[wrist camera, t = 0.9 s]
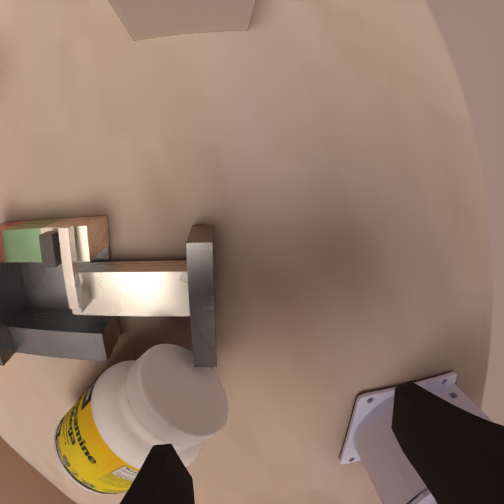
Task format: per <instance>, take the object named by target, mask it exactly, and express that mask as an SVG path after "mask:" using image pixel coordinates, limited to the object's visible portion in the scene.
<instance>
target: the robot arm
mask: <svg viewBox="0 0 504 504" xmlns="http://www.w3.org/2000/svg"><path fill="white" fill-rule="evenodd" d="M456 378H457V374H456V373H455V372H451V373H447V374H444V375H440V376H437V377H433V378H429V379H426V380H422V381H418V382H414V383H413V382H412V381H410V382H407V383H405V384H403V385H400V386H397V387H393V388H388V389H384V390H379V391H374V392H369V393H364V394H361V395H359V396H358V397H357V399H356V403H355V407H354V411H353V414H352V418H351V422H350V425H349V429H348V433H347V436H346V440H345V443H344V446H343V450H342V453H341V456H340V463H341V464H347V463H352V462H356V461H360V460H361V461H362V463H363V465H364V467H365V469H366V471H367V473H368V475H369V477H370V479H371V481H372V483H373V485H374V487H375V489H376V491H377V493H378V495H379V497H380V499H381V501H382V503H383V504H504V426H502V425H499V424H496V423H493V422H492V421H491V420H490V418H489V417H488V416H487V415H486V414H485V413H484V412H483V411H482V410H481V409H480V408H479V407H478V406H477V405H476V404H475V403H474V402H473V401H472V400H471V399H470V398H469V397H468V396H467V395H466V394H465V393H464V392H463V391H462V390H461V389H460V388H459V387H458V386H457V385H456V384H455V381H456ZM369 398H370V399H369ZM120 504H195V502H194V491H193V481H192V477H191V475H190V474H189V472H188V471H187V469H186V467H185V466H184V464H183V462H182V461H181V459H180V457H179V456H178V454H177V452H176V451H175V449H174V447H173V445H172V444H161V445H153V447H152V448H151V450H150V452H149V454H148V455H147V457H146V459H145V461H144V463H143V465H142V467H141V468H140V470H139V472H138V474H137V476H136V477H135V479H134V481H133V483H132V484H131V486H130V488H129V489H128V491H127V493H126V494H125V496H124V498H123V499H122V501H121V502H120Z"/></svg>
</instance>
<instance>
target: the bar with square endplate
mask: <svg viewBox="0 0 504 504" xmlns="http://www.w3.org/2000/svg"><path fill="white" fill-rule="evenodd" d="M58 233H59V243H60V251H61V259H62V266H63V273H64V280H65V286H66V292H67V297H68V302H69V308H70V309H72V313H73V314H75V315H104V316H190V323H191V336H192V348H193V359H194V367H217V360H216V332H215V304H214V270H213V225H193V226H192V228H191V231H190V234H189V237H188V239H187V242H186V253H187V260H184V261H123V262H79V263H77V255H76V246H75V236H74V225H68V226H62V227H60V228H58Z"/></svg>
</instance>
